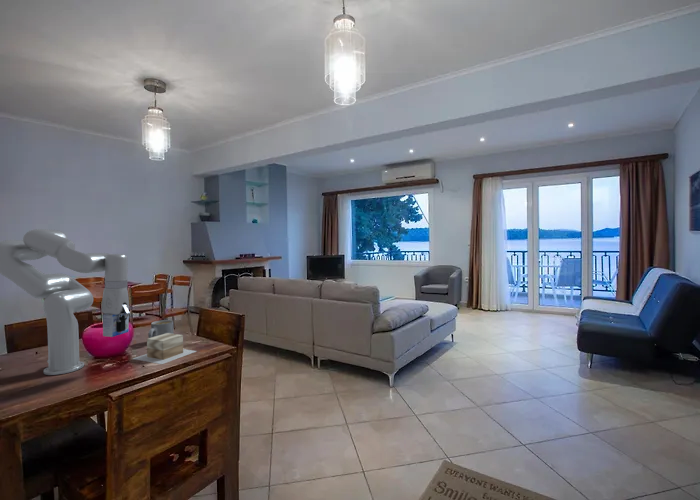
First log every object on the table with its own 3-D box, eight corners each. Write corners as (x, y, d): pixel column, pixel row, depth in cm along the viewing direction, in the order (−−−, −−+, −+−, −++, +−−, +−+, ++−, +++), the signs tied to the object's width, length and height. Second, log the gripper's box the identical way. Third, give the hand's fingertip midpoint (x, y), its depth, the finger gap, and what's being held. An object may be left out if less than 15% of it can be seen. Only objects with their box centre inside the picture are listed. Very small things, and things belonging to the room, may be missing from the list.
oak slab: (147, 356, 150) (147, 347, 150) (167, 350, 159) (167, 341, 159) (163, 359, 146) (163, 350, 146) (183, 352, 155) (183, 343, 155)
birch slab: (147, 347, 150) (146, 338, 150) (167, 341, 159) (167, 333, 159) (163, 350, 146) (163, 341, 146) (183, 343, 155) (182, 335, 155)
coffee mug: (164, 338, 184) (164, 319, 183) (177, 340, 180) (177, 320, 179) (140, 344, 172) (140, 324, 171) (153, 347, 167) (153, 326, 167)
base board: (132, 360, 148) (132, 358, 148) (168, 348, 165) (168, 346, 165) (161, 366, 141) (161, 364, 141) (197, 353, 157) (197, 351, 157)
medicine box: (112, 337, 133) (112, 315, 133) (102, 336, 134) (102, 314, 134) (129, 332, 141) (129, 311, 141) (119, 331, 142) (119, 310, 142)
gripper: (92, 284, 137) (92, 330, 137) (120, 287, 130) (120, 335, 131) (112, 282, 144) (111, 325, 144) (139, 285, 137) (139, 330, 138)
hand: (116, 329), depth 137 cm, fingers closed on medicine box, 5 cm apart
